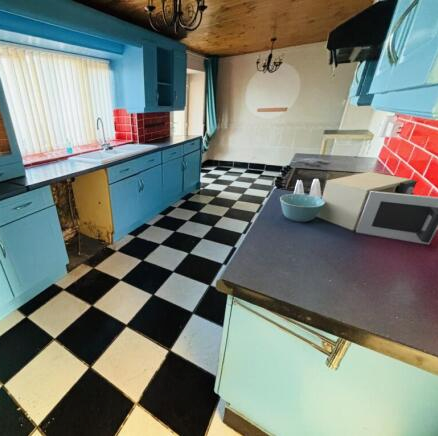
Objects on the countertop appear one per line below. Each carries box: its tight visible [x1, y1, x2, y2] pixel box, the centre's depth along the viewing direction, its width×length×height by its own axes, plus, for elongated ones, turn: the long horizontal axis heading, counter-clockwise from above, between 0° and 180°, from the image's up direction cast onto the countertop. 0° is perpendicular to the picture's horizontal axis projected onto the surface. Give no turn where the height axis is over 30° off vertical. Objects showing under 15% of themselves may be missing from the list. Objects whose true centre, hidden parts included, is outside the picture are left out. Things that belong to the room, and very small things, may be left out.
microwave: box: [316, 171, 418, 231], centre depth 94 cm, size 16×26×16 cm, turn 110°
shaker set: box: [293, 178, 322, 199], centre depth 116 cm, size 12×4×11 cm, turn 60°
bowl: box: [279, 193, 325, 223], centre depth 99 cm, size 16×16×8 cm
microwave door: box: [355, 191, 438, 245], centre depth 77 cm, size 7×19×16 cm, turn 57°
